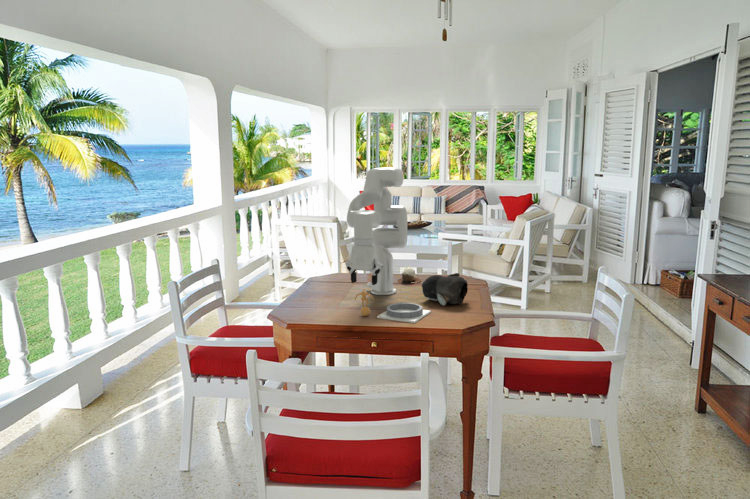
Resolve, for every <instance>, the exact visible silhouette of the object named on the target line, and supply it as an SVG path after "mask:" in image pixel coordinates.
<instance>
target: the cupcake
mask: <svg viewBox="0 0 750 499" xmlns="http://www.w3.org/2000/svg"><path fill="white" fill-rule="evenodd" d="M397 282H398V283H400V284H404V283H405V284H411V282H414V283H415V284H418V283H420V282H422V279H420V278H418V277H416V271H415V269H414V268H412V267H409V266H408V267H405V268H404V270H403V271H402V273H401V278H399V279H397ZM417 282H418V283H417Z"/></svg>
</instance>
